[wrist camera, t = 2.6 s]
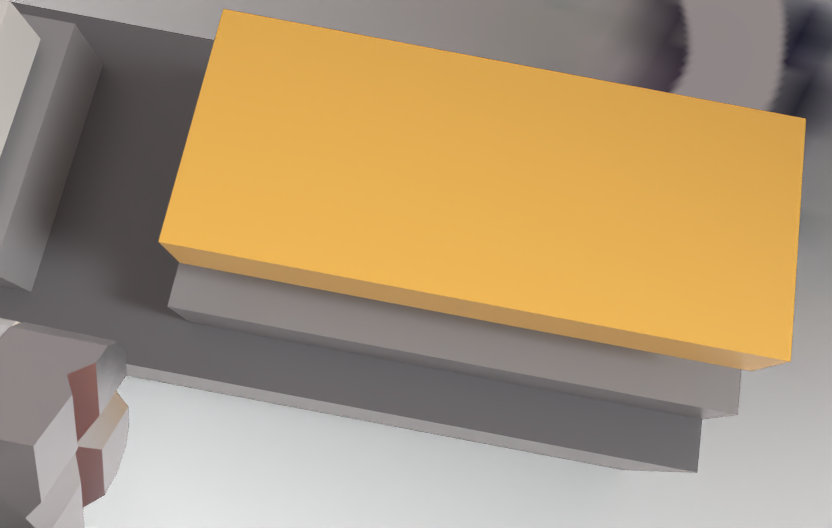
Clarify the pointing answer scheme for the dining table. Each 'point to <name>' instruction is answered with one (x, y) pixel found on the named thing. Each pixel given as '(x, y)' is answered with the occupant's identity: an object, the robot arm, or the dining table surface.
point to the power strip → (164, 351)
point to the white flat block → (13, 62)
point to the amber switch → (492, 192)
